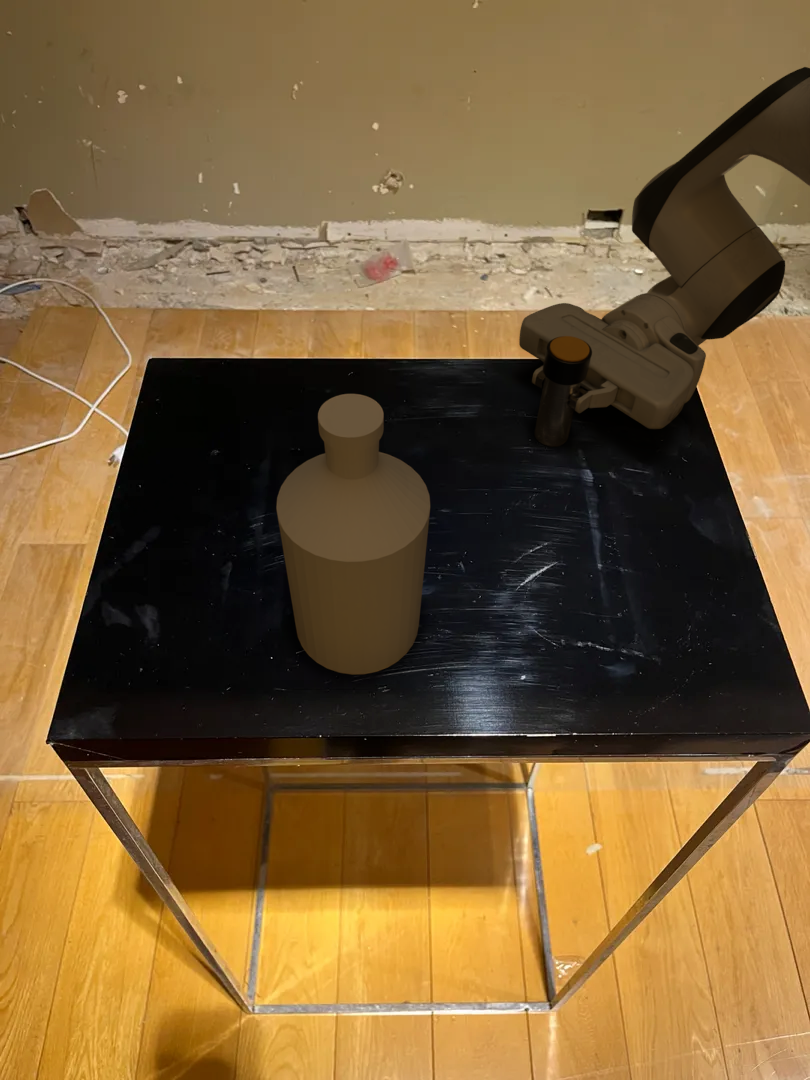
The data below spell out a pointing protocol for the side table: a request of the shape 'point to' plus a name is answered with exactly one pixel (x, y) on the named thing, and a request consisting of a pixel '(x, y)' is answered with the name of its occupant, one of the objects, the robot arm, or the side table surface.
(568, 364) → the torch
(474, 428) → the side table surface
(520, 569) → the side table surface
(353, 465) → the bottle
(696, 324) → the robot arm
